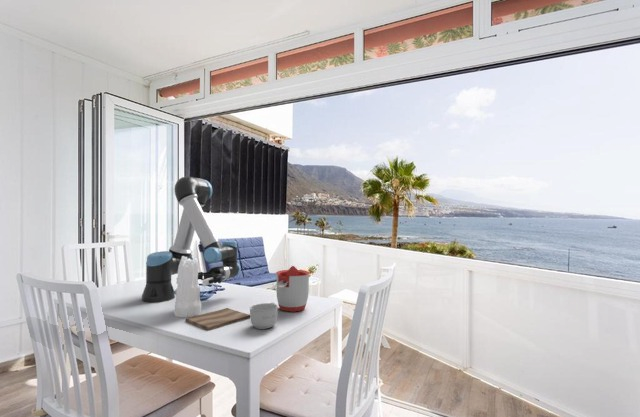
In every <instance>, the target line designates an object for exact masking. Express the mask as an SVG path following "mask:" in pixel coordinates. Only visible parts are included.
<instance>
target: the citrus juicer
mask: <svg viewBox="0 0 640 417" xmlns="http://www.w3.org/2000/svg"><path fill="white" fill-rule="evenodd" d="M275 273H276V289H275V290H276V300H277V304H278V305H277V306H278V307H279V309H280V310H281V311H285V312H292V313H296V312H301V311H303V310H305V309H306V306H307V302H308V300H309V291H310V287H309V286H310V271H307V270H303V269H297V267H295V265H291V266H290V267H289V268H288V269H285V270H284V269H282V270H278V271H276V272H275Z"/></svg>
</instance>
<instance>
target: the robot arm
mask: <svg viewBox="0 0 640 417" xmlns="http://www.w3.org/2000/svg"><path fill="white" fill-rule="evenodd" d="M173 190H174V195H175V198H176V200H177V202H178V204H179V205H180V206H182V207H183V210H182V213H181V217H180V221H179V224H178V228H177V232H176V236H175V239H174V243H173V245H171V246H170V247H169V249H168V251H167V250H165V251H164V250H163V251H156V252H152V253H149V254H148V255H147V257H146V262H145V263H146V264H145V265H146V269H145V278H146V279H145V286H144V289H143V291H142V294H141V301H142V302H146V303H158V302H165V301H169V300H173V299H174V298H176V291H175V290H174V286H173V284H172V276H174V275H178V267H179V264H180V260H181V257H182V256H185V257H187V259H188V258H190V259H191V260H192V261H194V257H193V255H192V252H193V251H192V250H191V245H192V242H193V239H194V234H196V235H197V237H198V239H199V241H200V244H201V245H202V247H203V248H204V252H203V258H204V260H205V261H206V262H207V263H209V264H215V263H219V262H222V265H218V266H215V267H211V268H210V269H209V270H208V271H205V272H203V271H201V272H199V271H198V280H201V281H202V287H205V286H206V287H207V286H209V285H212V284H217V283H218V284H221V283H222V282H224V281H226V280H229V279H232V278H235V277H237V276H239V275H240V274H241V271H242V267H241V265H240V264H239V263H238V242H237V241H236V240H224V241H222V243H221V242H220V241H219V239H218V237H217V235H216V233H215V232H214V230H213V228H212V226H211V223H210V222H209V220H208V217H207V216H206V214H205V211H204V210H203V207H204V206H206V203H207V201H208V200H209V199H211V197H212V195H213V187H212V184H211V183H210V181H208V180H206V179H203V178H199V177H194V176H193V177H192V176H183V177H180V178H179V179H178V180H177V181H176V182H175V185H174V189H173ZM220 243H221V244H220ZM177 281H178V276H177V277H176V282H177Z"/></svg>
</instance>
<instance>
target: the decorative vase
mask: <svg viewBox="0 0 640 417" xmlns="http://www.w3.org/2000/svg"><path fill="white" fill-rule="evenodd" d="M198 273H199V261H198V257H193V261H192V260H191V259H190V258H188V259H187V257H185V256H182V257H181V260H180V264H179V267H178V274H177V277H178V281H177V280H176V284H177V287H176V290H175V304H174V312H173V313H174V317H175V318H176V317H177V318H181V319H182V318H185V319H186V318H189V317H193V316H197V315H201V313H202V301H201V298H200V296H201V288H200V285H199V279H198Z"/></svg>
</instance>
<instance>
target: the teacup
mask: <svg viewBox="0 0 640 417" xmlns="http://www.w3.org/2000/svg"><path fill="white" fill-rule="evenodd" d="M278 307H279V305H277V303H275V302H270V303H267V302H265V303H259V304H258V303H257V304H253V305H251V306H250V307H249V315H250V318H249V319H250V323H251V325H252V326H253V327H255V328H256V329H259V330H265V329H270V328H272V327H274V325H275V324H276V323H277V322H278Z"/></svg>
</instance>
